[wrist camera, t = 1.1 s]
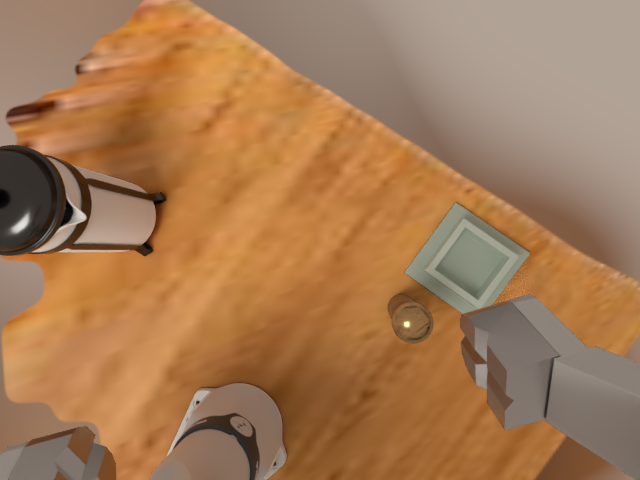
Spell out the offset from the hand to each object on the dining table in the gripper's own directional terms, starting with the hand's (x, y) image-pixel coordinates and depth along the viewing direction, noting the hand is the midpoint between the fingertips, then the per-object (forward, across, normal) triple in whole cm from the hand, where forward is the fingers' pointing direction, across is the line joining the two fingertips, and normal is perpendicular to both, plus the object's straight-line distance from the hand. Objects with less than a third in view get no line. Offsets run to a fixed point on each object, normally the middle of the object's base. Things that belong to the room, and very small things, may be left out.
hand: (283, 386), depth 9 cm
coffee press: (+63, -29, -20) cm, 72 cm away
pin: (+43, +13, -40) cm, 60 cm away
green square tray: (+44, +25, -36) cm, 62 cm away
